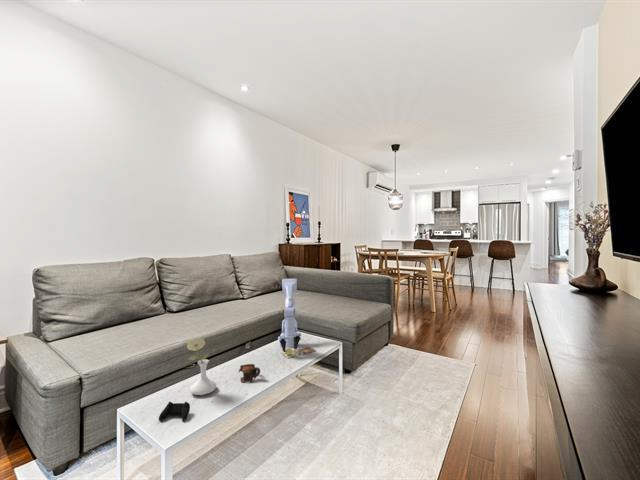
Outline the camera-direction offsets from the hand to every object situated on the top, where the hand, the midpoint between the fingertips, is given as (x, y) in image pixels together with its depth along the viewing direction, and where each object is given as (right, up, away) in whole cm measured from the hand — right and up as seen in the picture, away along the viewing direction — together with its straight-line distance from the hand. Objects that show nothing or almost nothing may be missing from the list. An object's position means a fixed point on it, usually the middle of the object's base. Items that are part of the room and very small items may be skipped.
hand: (289, 350), depth 180 cm
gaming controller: (-39, -5, -60) cm, 72 cm away
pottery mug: (-17, -5, -28) cm, 33 cm away
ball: (0, -3, 0) cm, 3 cm away
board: (+5, -4, +3) cm, 7 cm away
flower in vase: (-37, -5, -40) cm, 55 cm away
